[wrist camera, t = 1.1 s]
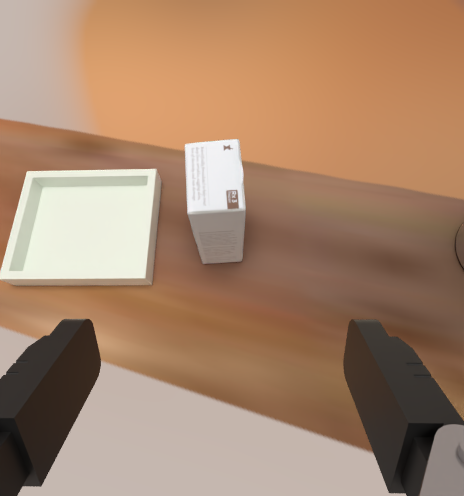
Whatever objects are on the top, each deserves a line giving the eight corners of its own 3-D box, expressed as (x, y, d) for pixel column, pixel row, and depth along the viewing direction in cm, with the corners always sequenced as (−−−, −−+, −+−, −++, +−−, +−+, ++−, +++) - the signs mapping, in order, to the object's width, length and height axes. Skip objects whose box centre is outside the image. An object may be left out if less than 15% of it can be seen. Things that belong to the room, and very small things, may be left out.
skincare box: (199, 213, 36) (179, 139, 24) (241, 210, 36) (239, 134, 24) (202, 267, 34) (180, 213, 22) (246, 264, 34) (247, 208, 22)
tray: (161, 181, 37) (156, 169, 35) (152, 285, 33) (145, 278, 31) (40, 183, 38) (27, 171, 36) (15, 285, 34) (-2, 279, 31)
